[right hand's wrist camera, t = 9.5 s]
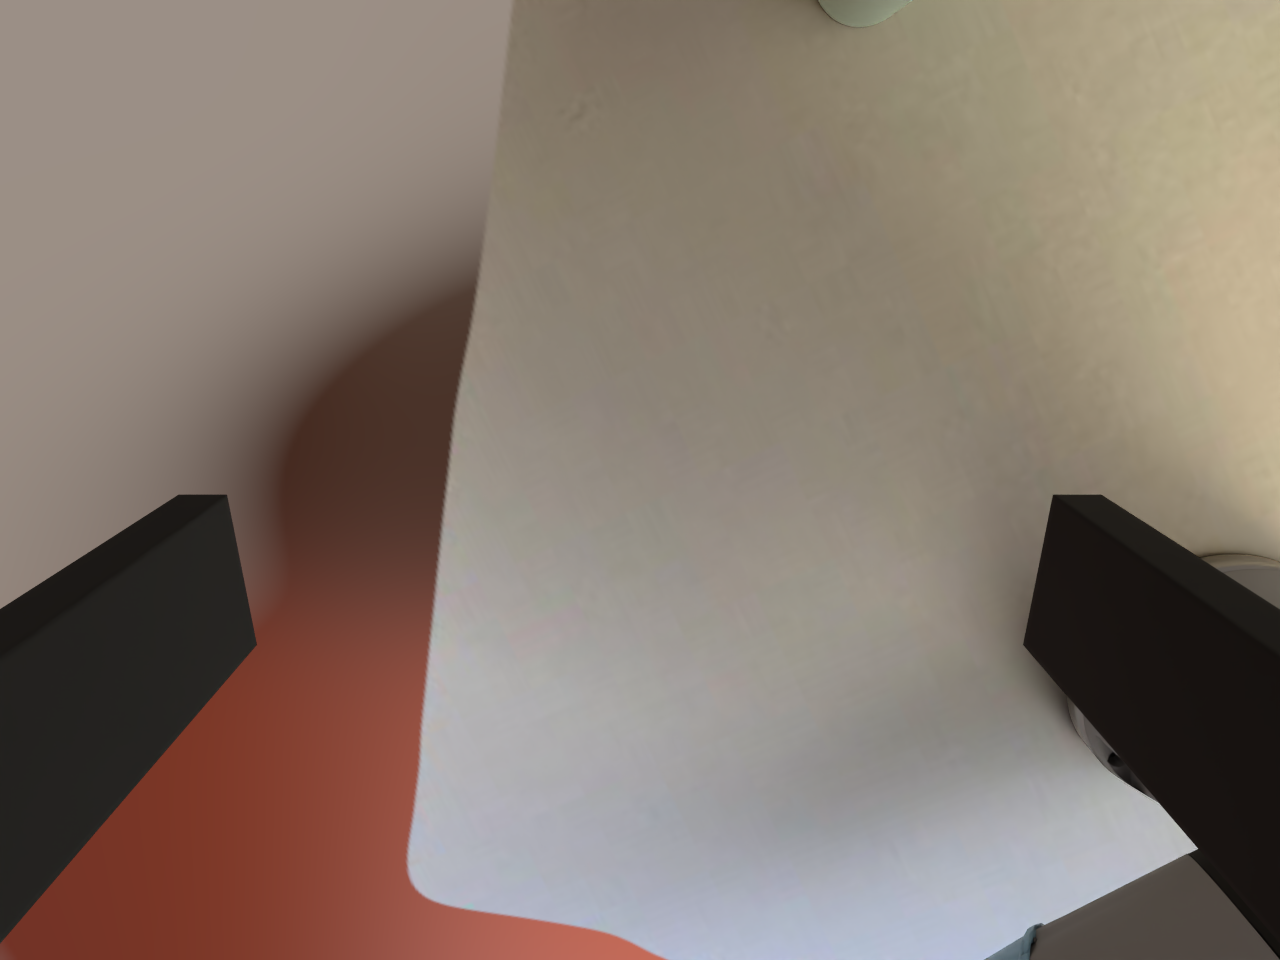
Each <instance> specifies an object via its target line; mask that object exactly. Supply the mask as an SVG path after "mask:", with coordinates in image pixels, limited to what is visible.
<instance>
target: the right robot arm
mask: <svg viewBox="0 0 1280 960" xmlns="http://www.w3.org/2000/svg"><path fill="white" fill-rule="evenodd" d="M256 645H257V643H256V638H255V633H254V628H253V623H252V618H251V613H250V608H249V603H248V598H247V593H246V588H245V583H244V578H243V573H242V568H241V563H240V558H239V553H238V548H237V543H236V538H235V533H234V528H233V523H232V518H231V513H230V508H229V503H228V498H227V495H177V496H176V497H175V498H173V499H171V500H170V501H168V502H167V503H165V504H163V505H162V506H160V507H159V508H157V509H156V510H154V511H153V512H151V513H149V514H148V515H146V516H145V517H143V518H142V519H140V520H139V521H137V522H135V523H134V524H132V525H131V526H129V527H128V528H126V529H124V530H123V531H121V532H120V533H118V534H117V535H115V536H114V537H112V538H110V539H109V540H107V541H106V542H104V543H103V544H101V545H100V546H98V547H97V548H95V549H93V550H92V551H90V552H89V553H87V554H86V555H84V556H82V557H81V558H79V559H78V560H76V561H75V562H73V563H71V564H70V565H68V566H67V567H65V568H64V569H62V570H61V571H59V572H57V573H56V574H54V575H53V576H51V577H50V578H48V579H46V580H45V581H43V582H42V583H40V584H39V585H37V586H36V587H34V588H32V589H31V590H29V591H28V592H26V593H25V594H23V595H22V596H20V597H18V598H17V599H15V600H14V601H12V602H11V603H9V604H8V605H6V606H4V607H3V608H1V609H0V943H1V942H2V941H3V940H4V938H5V937H6V936H7V935H8V934H9V933H10V931H11V930H12V929H13V928H14V927H15V926H16V924H17V923H18V922H19V921H20V920H21V919H22V917H23V916H24V915H25V914H26V913H27V912H28V910H29V909H30V908H31V907H32V906H33V905H34V903H35V902H36V901H37V900H38V899H39V898H40V896H41V895H42V894H43V893H44V892H45V891H46V889H47V888H48V887H49V886H50V885H51V884H52V883H53V881H54V880H55V879H56V878H57V877H58V876H59V874H60V873H61V872H62V871H63V870H64V869H65V867H66V866H67V865H68V864H69V863H70V862H71V860H72V859H73V858H74V857H75V856H76V855H77V853H78V852H79V851H80V850H81V849H82V848H83V846H84V845H85V844H86V843H87V842H88V841H89V839H90V838H91V837H92V836H93V835H94V834H95V832H96V831H97V830H98V829H99V828H100V827H101V825H102V824H103V823H104V822H105V821H106V820H107V819H108V817H109V816H110V815H111V814H112V813H113V812H114V810H115V809H116V808H117V807H118V806H119V804H120V803H121V802H122V801H123V800H124V799H125V798H126V796H127V795H128V794H129V793H130V792H131V791H132V789H133V788H134V787H135V786H136V785H137V784H138V782H139V781H140V780H141V779H142V778H143V777H144V775H145V774H146V773H147V772H148V771H149V770H150V768H151V767H152V766H153V765H154V764H155V763H156V762H157V760H158V759H159V758H160V757H161V756H162V755H163V753H164V752H165V751H166V750H167V749H168V748H169V746H170V745H171V744H172V743H173V742H174V741H175V739H176V738H177V737H178V736H179V735H180V734H181V732H182V731H183V730H184V729H185V728H186V727H187V725H188V724H189V723H190V722H191V721H192V720H193V718H194V717H195V716H196V715H197V714H198V713H199V711H200V710H201V709H202V708H203V707H204V706H205V704H206V703H207V702H208V701H209V700H210V699H211V698H212V696H213V695H214V694H215V693H216V692H217V691H218V689H219V688H220V687H221V686H222V685H223V684H224V682H225V681H226V680H227V679H228V678H229V677H230V675H231V674H232V673H233V672H234V671H235V669H236V668H237V667H238V666H239V665H240V664H241V663H242V661H243V660H244V659H245V658H246V657H247V656H248V654H249V653H250V652H251V651H252V650H253V649H254V647H255V646H256ZM1023 645H1024V646H1025V647H1026V649H1027V650H1028V651H1029V652H1030V653H1031V654H1032V656H1033V657H1034V658H1035V659H1036V660H1037V661H1038V663H1039V664H1040V665H1041V666H1042V667H1043V668H1044V670H1045V671H1046V672H1047V673H1048V674H1049V675H1050V677H1051V678H1052V679H1053V680H1054V681H1055V682H1056V684H1057V685H1058V686H1059V687H1060V688H1061V689H1062V691H1063V692H1064V693H1065V694H1066V695H1067V702H1068V708H1069V713H1070V716H1071V720H1072V722H1073V724H1074V727H1075V729H1076V731H1077V732H1078V734H1079V736H1080V737H1081V739H1082V740H1083V741H1084V742H1085V744H1086V745H1087V746H1088V747H1089V748H1090V750H1091V751H1092V752H1093V753H1094V755H1095V756H1096V757H1097V758H1098V759H1099V761H1100V762H1101V763H1102V764H1103V765H1104V766H1105V767H1106V768H1107V769H1108V770H1109V771H1110V772H1111V773H1113V774H1114V775H1115V776H1117V777H1118V778H1120V779H1121V780H1123V781H1124V782H1126V783H1127V784H1129V785H1130V786H1132V787H1134V788H1135V789H1137V790H1139V791H1140V792H1142V793H1143V794H1145V795H1147V796H1148V797H1150V798H1152V799H1153V800H1155V801H1157V802H1158V803H1160V805H1161V806H1162V807H1163V808H1164V809H1165V810H1166V812H1167V813H1168V814H1169V815H1170V816H1171V817H1172V819H1173V820H1174V821H1175V822H1176V823H1177V824H1178V826H1179V827H1180V828H1181V829H1182V830H1183V831H1184V832H1185V834H1186V835H1187V836H1188V837H1189V838H1190V839H1191V841H1192V842H1193V843H1194V844H1195V845H1196V846H1197V848H1198V849H1197V850H1195V851H1193V852H1191V853H1189V854H1186V855H1184V856H1182V857H1180V858H1178V859H1176V860H1174V861H1172V862H1170V863H1168V864H1166V865H1164V866H1162V867H1160V868H1158V869H1156V870H1154V871H1152V872H1150V873H1148V874H1146V875H1144V876H1142V877H1140V878H1138V879H1136V880H1134V881H1132V882H1130V883H1128V884H1126V885H1124V886H1122V887H1120V888H1118V889H1116V890H1114V891H1112V892H1111V893H1109V894H1107V895H1105V896H1103V897H1101V898H1099V899H1097V900H1095V901H1093V902H1091V903H1089V904H1087V905H1085V906H1083V907H1081V908H1079V909H1077V910H1075V911H1073V912H1071V913H1069V914H1067V915H1065V916H1063V917H1061V918H1059V919H1056V920H1054V921H1052V922H1050V923H1048V924H1046V925H1044V924H1042V923H1040V924H1036V925H1034V926H1032V927H1030V928H1029V929H1027V931H1026V933H1025V935H1024V936H1023V937H1021V938H1020V939H1018V940H1016V941H1015V942H1013V943H1011V944H1010V945H1008V946H1006V947H1005V948H1003V949H1002V950H1000V951H998V952H997V953H995V954H993V955H992V956H990V957H988V958H986V959H985V960H1280V562H1278V561H1276V560H1272V559H1268V558H1265V557H1259V556H1253V555H1241V554H1226V555H1215V556H1208V557H1203V558H1199V557H1198V556H1196V555H1195V554H1193V553H1191V552H1190V551H1188V550H1187V549H1185V548H1184V547H1182V546H1180V545H1179V544H1177V543H1176V542H1174V541H1173V540H1171V539H1170V538H1168V537H1166V536H1165V535H1163V534H1162V533H1160V532H1159V531H1157V530H1156V529H1154V528H1152V527H1151V526H1149V525H1148V524H1146V523H1145V522H1143V521H1141V520H1140V519H1138V518H1137V517H1135V516H1134V515H1132V514H1131V513H1129V512H1127V511H1126V510H1124V509H1123V508H1121V507H1120V506H1118V505H1117V504H1115V503H1113V502H1112V501H1110V500H1109V499H1107V498H1106V497H1104V496H1103V495H1053V498H1052V503H1051V508H1050V513H1049V518H1048V523H1047V528H1046V533H1045V538H1044V543H1043V548H1042V553H1041V558H1040V563H1039V568H1038V573H1037V578H1036V583H1035V588H1034V593H1033V598H1032V603H1031V608H1030V613H1029V618H1028V623H1027V628H1026V633H1025V638H1024V643H1023ZM1116 779H1117V778H1116ZM1121 782H1122V781H1121ZM1124 784H1125V783H1124ZM1130 786H1129V787H1130ZM1132 789H1133V788H1132ZM1135 789H1134V790H1135ZM1135 791H1136V790H1135ZM1137 792H1138V791H1137ZM1140 794H1141V793H1140ZM1143 796H1144V795H1143ZM1145 797H1146V796H1145ZM1146 798H1147V797H1146ZM1148 799H1149V798H1148ZM1151 801H1152V800H1151ZM1153 802H1154V801H1153ZM1156 804H1157V803H1156ZM1160 805H1159V806H1160Z"/></svg>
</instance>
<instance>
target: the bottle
mask: <svg viewBox="0 0 1280 960" xmlns="http://www.w3.org/2000/svg"><path fill="white" fill-rule="evenodd" d="M818 1H819V3H820V5H821V6H822V8H823V9H824V10H825V12H826V13H827V14H828V15H829V16H830V17H832V18H833V19H834V20H836V21H837V22H839V23H841V24H844V25H846V26H851V27H869V26H873V25H876V24H878V23H881V22H882V21H884V20H886V19H888V18H889V17H890V16H892V15H893V14H894V13H896V12H897V11H899V10H900V9H901V8H903V7H904V6H906V5H907V4H908V3H910V2H911V1H912V0H818Z"/></svg>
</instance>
